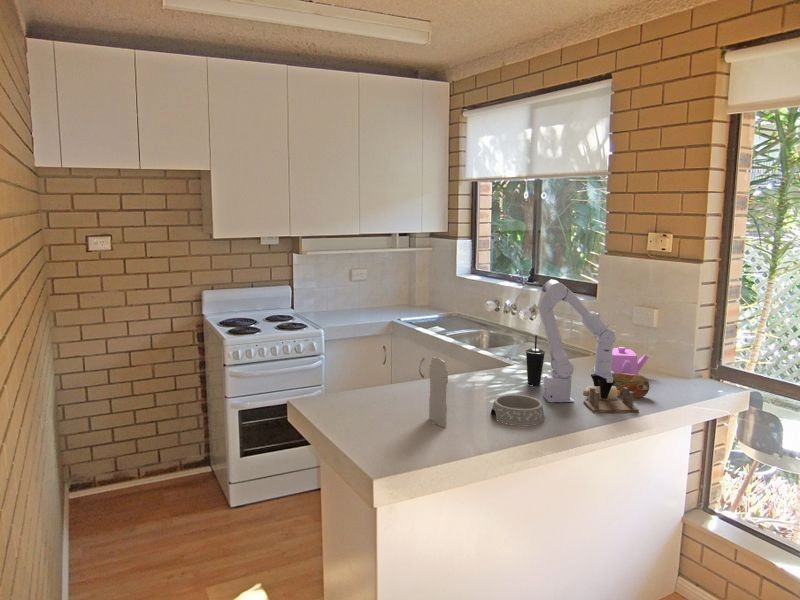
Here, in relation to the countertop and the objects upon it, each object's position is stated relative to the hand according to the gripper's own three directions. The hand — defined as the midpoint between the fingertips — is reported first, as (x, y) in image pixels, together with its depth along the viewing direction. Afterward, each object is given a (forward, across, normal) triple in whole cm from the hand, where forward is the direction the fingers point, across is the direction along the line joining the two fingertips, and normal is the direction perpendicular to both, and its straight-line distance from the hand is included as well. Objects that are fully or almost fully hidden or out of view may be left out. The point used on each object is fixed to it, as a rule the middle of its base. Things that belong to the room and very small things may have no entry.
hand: (601, 395), depth 227 cm
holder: (+1, -9, 0) cm, 9 cm away
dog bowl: (+2, -16, +35) cm, 39 cm away
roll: (+1, 0, 0) cm, 1 cm away
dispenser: (+2, -22, +63) cm, 67 cm away
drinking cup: (+2, +19, +20) cm, 28 cm away
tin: (+2, +5, -12) cm, 13 cm away
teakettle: (+2, +30, -20) cm, 36 cm away
